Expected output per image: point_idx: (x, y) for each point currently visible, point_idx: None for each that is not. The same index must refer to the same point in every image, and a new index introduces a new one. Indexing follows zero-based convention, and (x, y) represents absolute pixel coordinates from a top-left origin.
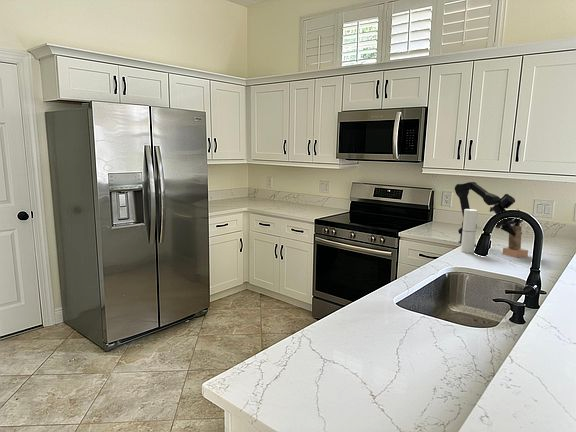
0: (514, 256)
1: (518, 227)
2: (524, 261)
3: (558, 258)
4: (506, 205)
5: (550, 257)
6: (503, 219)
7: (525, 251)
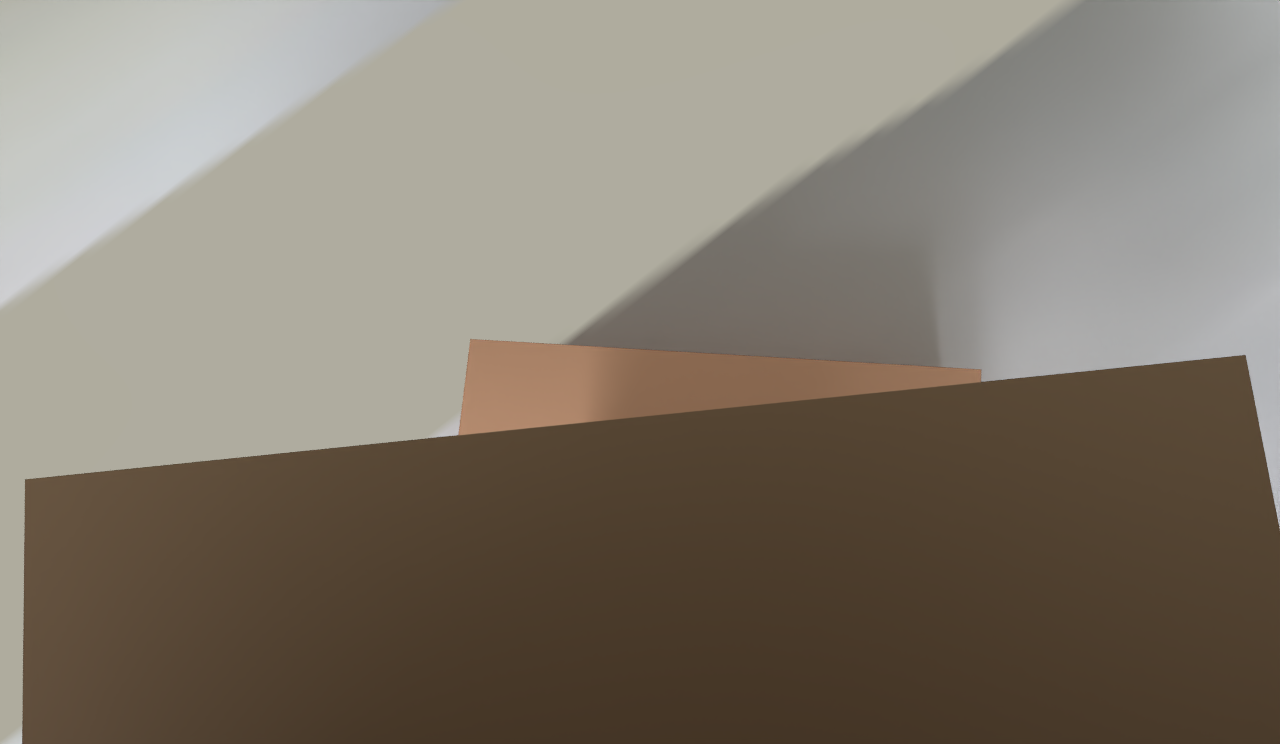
0: None
1: (790, 410)
2: (1101, 34)
3: (48, 20)
4: None
5: (110, 131)
6: None
7: (583, 350)
